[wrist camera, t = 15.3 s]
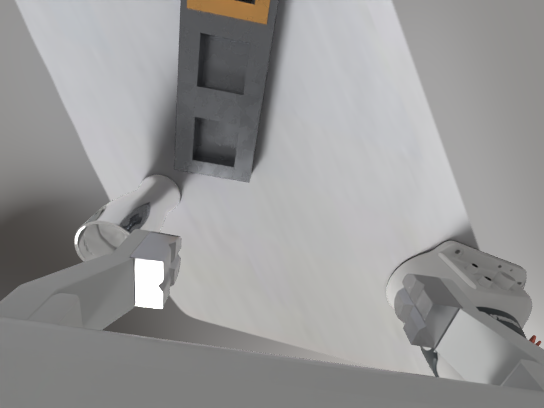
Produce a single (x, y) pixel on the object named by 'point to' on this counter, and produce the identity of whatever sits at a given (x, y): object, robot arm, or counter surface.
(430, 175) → the counter surface
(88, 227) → the beer glass
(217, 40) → the socket rail
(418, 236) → the counter surface
